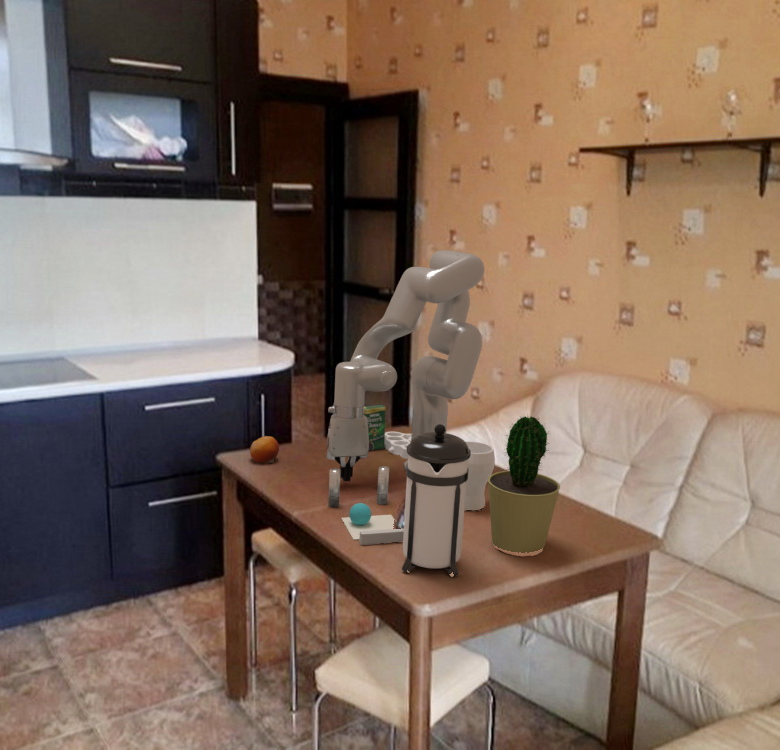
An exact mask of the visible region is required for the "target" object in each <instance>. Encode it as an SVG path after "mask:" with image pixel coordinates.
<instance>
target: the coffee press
mask: <svg viewBox="0 0 780 750" xmlns="http://www.w3.org/2000/svg"><path fill="white" fill-rule="evenodd" d="M434 430H435V432H431V433H424V434H420V435H418V436H416V437H414V438H413V439H412V440H411V442H410V444H409V445H408V446H407V454H408V459H407V460H408V463H407V466H406V470H405V474H406V489H405V503H404V523H403V528H404V537H403V542H402V554H403V556H404V558H405V560H404V563H403V565H402V566H401V570H402V572H404V573H406V574H407V570H408V571H409V572H410V573H411V572H412V571H413V570H414V568H415V567H416V566H418V567H420V568H421V567H422V568H427V569H445V570H446V572H447V574H448V575H449V574H451V573H452V572H453V574H454V576H455V577H457V576H456V575H458V574H459V572H460V571H459V569H458V567H457V562H459V560H460V559H461V557H462V556H461V555H462V548H463V547H462V545H463V535H464V534H463V532H464V521H465V510H464V509H465V496H466V483H467V480H468V472H469V469H468V459H469V458H470V456H471V451H470V449H469V448H468V445H467V443H466V442H467V441H466V440H464V439H463V438H461V437H459V436H458V435H455V434H451V433H447V429H445V426H444V425H442V424H438V425H437V426H436V427H435V429H434ZM445 431H446V433H445ZM458 576H459V575H458Z"/></svg>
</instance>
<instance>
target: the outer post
mask: <svg viewBox="0 0 780 750" xmlns="http://www.w3.org/2000/svg"><path fill="white" fill-rule="evenodd" d="M328 475H329V476H328V479H329V481H328V500H327V501H328V503H327V506H328V507H329V508H332V509H335V508H339V507H340V491H341V490H340V489H341V477H340V468H335V467H334V468H330V469H329V474H328Z"/></svg>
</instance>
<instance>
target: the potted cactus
mask: <svg viewBox="0 0 780 750" xmlns="http://www.w3.org/2000/svg"><path fill="white" fill-rule="evenodd" d="M526 414H527V415H529V414H528V413H526ZM519 417H520V418H519ZM519 417H518V418H517V421H515V422H514V423H513V424H512V423H511V422H509V423H510V424H509V429H510V430H509V432H508V434H505V435H504V436H505V437H507V441H505V442H506V443H505V445H504V446H506V448H504V450H503V451H502V453H504V451H505V455H506V458H507V457H508V466H507V467H506V468H507V470H502V471H498V472H495V473H492V474H491V476H489V478H488V481H487V483H488V484H487V485H488V496H489V497H488V500H489V513H490V514H489V515H490V531H491V532H490V533H491V542H493V544H494V545H495V546H497V547H498V548H501V549H503V550H507V551H511V552H518V553H519V552H521V553H525V552H527V553H529V552H534V551H538V550H540V549H542V548H543V547H544V546H546V542H547V538H548V534H549V531H550V526H551V522H552V518H553V516H554V511H555V507H556V503H557V500H558V497H559V491H560V489H561V485H560V483H559V482H558V481H557V480H555V479H554V478H552V477H550V476H547V475H544V474H540V473H539V471H542V469H540V468H542V467H543V465H542V464H543V463H542V462H541V460H542V459H543V460H545V458H546V452H547V451H550V449H547V445H549V442H548V435H550V434H551V433H550V432H547V430H546V427H545V426H546V423H543V424H541V422H540V421H539V420H540V417H539V416H538V417H534V416H525V415H524V416H519ZM493 544H492V545H493ZM544 548H545V547H544Z"/></svg>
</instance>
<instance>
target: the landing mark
mask: <svg viewBox="0 0 780 750" xmlns="http://www.w3.org/2000/svg"><path fill="white" fill-rule="evenodd" d="M340 518H341V521H342V522H344V523H343V524H344V527H345V528H346V530H347V531H348V534H350V536H351V538H352V540H353V541H358V540H359V539H360V531H372V530H387V529H393V528H394V527H393V526H394V525H393V524H394V520H395V521H396V519H395V518H394V517H393V515H392V514H380V515H379V514H378V515H371V518H370V520H369V522H368V523H366V524H364V525H356V524H354V523H353V522H352V521H351V519H350V516H348V517H340Z"/></svg>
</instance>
